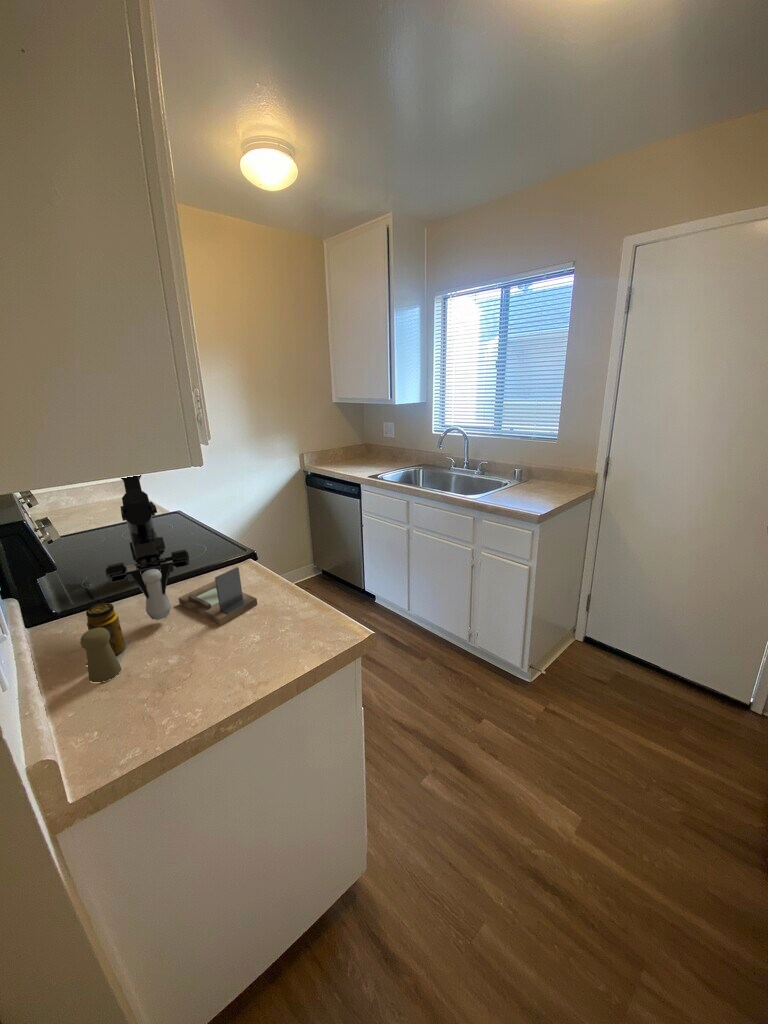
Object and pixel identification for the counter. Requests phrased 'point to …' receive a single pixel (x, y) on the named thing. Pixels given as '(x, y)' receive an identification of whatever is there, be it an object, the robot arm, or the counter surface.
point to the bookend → (230, 591)
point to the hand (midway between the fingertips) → (156, 596)
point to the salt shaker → (155, 595)
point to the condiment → (108, 627)
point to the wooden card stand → (212, 603)
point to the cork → (99, 655)
